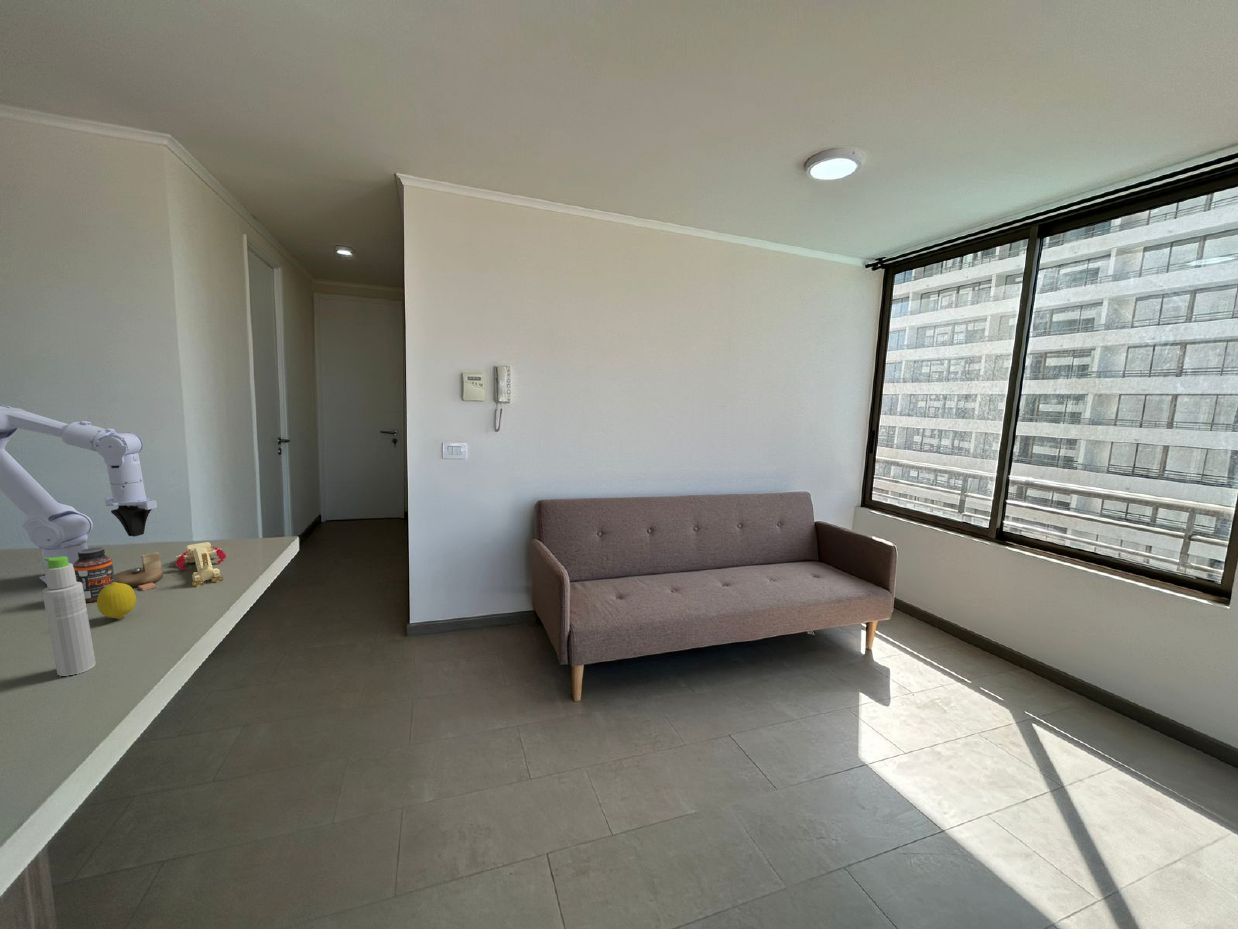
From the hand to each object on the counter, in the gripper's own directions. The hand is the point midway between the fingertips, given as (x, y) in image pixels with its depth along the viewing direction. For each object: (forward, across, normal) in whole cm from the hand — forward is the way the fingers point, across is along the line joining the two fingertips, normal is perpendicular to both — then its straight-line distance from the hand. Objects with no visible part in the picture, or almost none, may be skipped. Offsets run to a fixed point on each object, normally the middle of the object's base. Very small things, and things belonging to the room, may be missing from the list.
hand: (136, 535), depth 120 cm
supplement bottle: (+11, +6, -12) cm, 17 cm away
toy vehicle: (+11, +10, +7) cm, 17 cm away
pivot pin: (+8, +4, -4) cm, 10 cm away
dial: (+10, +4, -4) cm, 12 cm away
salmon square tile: (+11, +10, -5) cm, 16 cm away
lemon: (+11, +22, -18) cm, 30 cm away
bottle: (+11, +37, -32) cm, 50 cm away
